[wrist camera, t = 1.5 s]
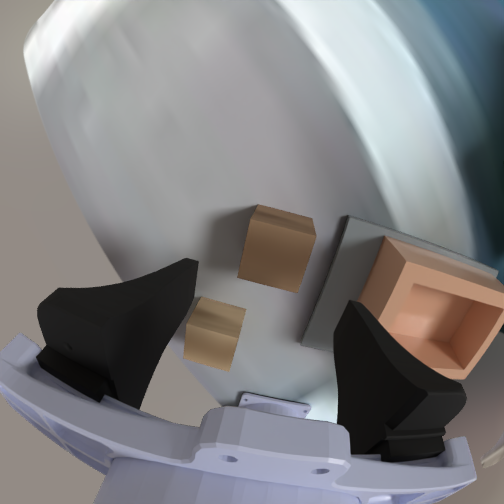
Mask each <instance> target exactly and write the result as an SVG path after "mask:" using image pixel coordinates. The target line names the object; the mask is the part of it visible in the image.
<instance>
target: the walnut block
mask: <svg viewBox="0 0 504 504" xmlns="http://www.w3.org/2000/svg"><path fill="white" fill-rule="evenodd" d="M315 239H316V232H315V228H314V224H313V220H312V218H308V217H305V216H301V215H297V214H294V213H290V212H286V211H282V210H278V209H275V208H271V207H267V206H263V205H259V204H258V206H257V208H256V210H255V211H254V213H253V215H252V217H251V219H250V223H249V227H248V232H247V236H246V240H245V245H244V249H243V254H242V258H241V263H240V267H239V272H238V276H237V278H240V279H244V280H248V281H252V282H256V283H259V284H263V285H267V286H271V287H275V288H279V289H283V290H287V291H291V292H295V293H298V290H299V287H300V285H301V282H302V279H303V276H304V273H305V270H306V267H307V264H308V261H309V258H310V255H311V252H312V249H313V246H314V243H315Z"/></svg>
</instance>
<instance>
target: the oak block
mask: <svg viewBox="0 0 504 504" xmlns="http://www.w3.org/2000/svg"><path fill="white" fill-rule="evenodd" d="M245 312H246V309H244V308H240V307H237V306H233V305H229V304H226V303H222V302H218V301H215V300H211V299H208V298H205V297H201V298H200V300H199V302H198V304H197V305H196V307H195V309H194V311H193V313H192V314H191V316H190V318H189V320H188V322H187V324H186V334H185V345H184V356H183V358H185V359H188V360H191V361H194V362H197V363H200V364H204V365H207V366H210V367H214V368H217V369H221V370H224V371H228V372H229V371H230V367H231V364H232V360H233V356H234V353H235V349H236V346H237V342H238V338H239V335H240V331H241V327H242V323H243V320H244V316H245Z"/></svg>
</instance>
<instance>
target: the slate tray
mask: <svg viewBox="0 0 504 504" xmlns="http://www.w3.org/2000/svg"><path fill="white" fill-rule="evenodd" d="M384 235H385V236H388V237H391V238H394V239H398V240H401V241H404V242H407V243H409V244H412V245H415V246H418V247H421V248H424V249H427V250H430V251H432V252H435V253H438V254H441V255H444V256H446V257H449V258H452V259H454V260H457V261H460V262H462V263H465V264H468V265H470V266H473V267H475V268H478V269H480V270H483V271H485V272H488V273H490V274H492V275H493V276H494V277H495V278H496V277H497V274H498V272H499V271H498V270H496V269H495V268H493V267H490V266H488V265H486V264H483V263H481V262H478V261H476V260H474V259H471V258H469V257H466V256H464V255H461V254H459V253H456V252H454V251H451V250H449V249H446V248H443V247H441V246H438V245H435V244H433V243H430V242H427V241H425V240H422V239H419V238H416V237H413V236H411V235H408V234H405V233H402V232H399V231H396V230H393V229H390V228H387V227H384V226H381V225H378V224H375V223H372V222H369V221H366V220H363V219H359V218H356V217H353V216H350V215H348V218H347V221H346V225H345V228H344V231H343V233H342V236H341V239H340V242H339V245H338V248H337V251H336V254H335V256H334V259H333V262H332V265H331V267H330V270H329V273H328V275H327V278H326V281H325V283H324V286H323V288H322V291H321V294H320V296H319V299H318V301H317V304H316V306H315V309H314V311H313V313H312V316H311V318H310V321H309V323H308V325H307V328H306V330H305V332H304V335H303V337H302V339H301V346H306V347H311V348H316V349H321V350H326V351H331V352H333V332H334V330H335V328H336V326H337V324H338V322H339V320H340V318H341V316H342V314H343V312H344V310H345V308H346V306H347V303H348V301H349V300H353V301H357V300H358V298H359V296H360V294H361V291H362V289H363V287H364V285H365V282H366V280H367V278H368V275H369V273H370V271H371V268H372V266H373V263H374V261H375V258H376V256H377V253H378V251H379V248H380V246H381V243H382V240H383V238H384Z"/></svg>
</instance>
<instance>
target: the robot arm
mask: <svg viewBox="0 0 504 504" xmlns="http://www.w3.org/2000/svg"><path fill="white" fill-rule="evenodd" d="M198 263H199V261H196V260H192V259H189V258H185V259H182V260H180V261H178V262H176V263H174V264H171V265H169V266H167V267H165V268H163V269H160V270H158V271H156V272H153V273H151V274H148V275H145V276H143V277H140V278H137V279H134V280H130V281H127V282H123V283H118V284H113V285H107V286H101V287H92V288H58V289H57V290H55V291H54V292H53V293H52V294H51V295H49V296H48V297H47V298H46V299H45V300H44V301H42V302H41V303H40V304H39V306H38V308H37V309H38V310H37V317H38V321H39V324H40V328H41V331H42V333H43V337H44V339H45V342H46V346H45V347H44V349H43V350H41V348H40V347H39V346H38V345H37V344H36V343H35V342H33V341H32V340H31V339H29V338H28V337H26V336H25V335H23V334H22V333H19V334H18V335H17V336H16V337H15V338H14V339H13V340H12V341H11V342H10V343H9V344H8V345H7V346H6V347H5V348H4V349H3V350H2V351H1V352H0V393H1V394H2V396H3V397H4V398H5V400H6V401H7V402H8V404H9V405H10V406H11V407H12V408H13V409H14V410H15V411H16V412H18V413H19V414H20V415H21V416H22V417H24V418H25V419H26V420H27V421H28V422H29V423H31V424H32V425H33V426H34V427H36V428H37V429H38V430H39V431H41V432H42V433H43V434H45V435H46V436H47V437H48V438H49V439H51V440H52V441H53V442H55V443H56V444H58V445H59V446H60V447H62V448H63V449H64V450H66V451H68V452H69V453H70V454H72V455H73V456H75V457H76V458H78V459H79V460H81V461H82V462H84V463H86V464H87V465H89V466H90V467H92V468H94V469H95V470H97V471H99V472H101V473H102V474H104V475H106V477H105V479H104V481H103V483H102V485H101V487H100V489H99V492H98V494H97V496H96V498H95V500H94V502H93V504H432V503H436V502H438V501H440V500H442V499H444V498H446V497H448V496H449V495H451V494H453V493H455V492H456V491H458V490H460V489H462V488H464V487H465V486H467V485H468V484H470V483H472V482H473V481H475V480H476V479H477V476H476V472H475V468H474V464H473V460H472V456H471V453H470V450H469V446H468V443H467V440H466V437H465V436H462V437H457V438H451V439H448V440H446V441H444V442H443V439H442V436H444V435H445V433H446V431H445V428H444V426H446V424H448V423H449V422H450V421H451V420H452V419H453V418H454V417H455V416H456V415H457V414H458V413H459V412H460V411H461V410H462V408H463V407H464V405H465V403H466V400H467V397H466V394H465V391H464V389H463V387H462V385H461V384H460V383H458V382H456V381H454V380H452V379H450V378H447V377H445V376H443V375H442V374H440V373H438V372H436V371H435V370H433V369H431V368H430V367H428V366H427V365H425V364H424V363H423V362H421V361H420V360H418V359H417V358H416V357H414V356H413V355H412V354H411V353H410V352H408V351H407V350H406V349H405V348H404V347H403V346H402V345H400V344H399V343H398V342H397V341H396V340H395V339H394V338H393V337H392V336H391V335H390V334H389V332H388V331H387V330H386V329H385V328H384V327H383V326H382V325H381V324H380V322H379V321H378V320H377V319H376V318H375V317H374V316H373V315H372V313H371V312H370V311H369V310H368V309H367V308H366V307H365V306H364V305H363V304H362V303H361V302H357V301H353V300H349V301H348V303H347V306H346V308H345V310H344V312H343V314H342V316H341V318H340V320H339V322H338V324H337V326H336V328H335V330H334V332H333V352H334V360H335V368H336V376H337V385H338V415H337V424H335V423H331V422H328V421H319V420H311V419H304V418H305V417H306V416H307V414H308V413H309V411H310V410H311V406H310V405H307V404H301V403H295V402H289V401H284V400H279V399H273V398H269V397H264V396H259V395H255V394H251V393H243V394H242V397H241V400H240V403H239V405H238V407H233V406H225V407H219V408H214V409H210V410H209V411H208V412H207V413H206V414H205V415H204V416H203V419H202V422H201V426H200V427H194V426H187V425H182V424H176V423H172V422H169V421H167V420H164V419H161V418H158V417H156V416H153V415H150V414H148V413H146V412H143V411H141V410H139V409H140V406H141V404H142V401H143V398H144V396H145V393H146V390H147V388H148V385H149V383H150V380H151V378H152V375H153V373H154V371H155V369H156V366H157V364H158V362H159V360H160V358H161V355H162V353H163V351H164V349H165V348H166V346H167V344H168V343H169V341H170V340H171V338H172V336H173V335H174V333H175V332H176V330H177V328H178V327H179V325H180V324H181V322H182V320H183V319H184V317H185V316H186V314H187V312H188V310H189V308H190V305H191V303H192V301H193V298H194V293H195V285H196V277H197V270H198Z"/></svg>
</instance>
